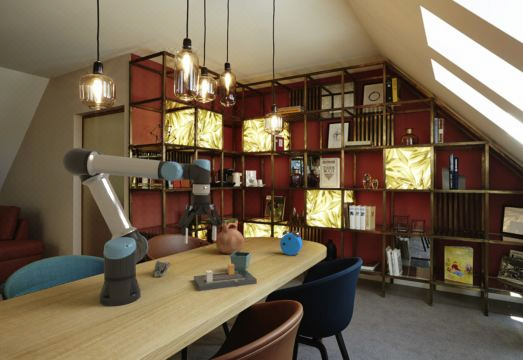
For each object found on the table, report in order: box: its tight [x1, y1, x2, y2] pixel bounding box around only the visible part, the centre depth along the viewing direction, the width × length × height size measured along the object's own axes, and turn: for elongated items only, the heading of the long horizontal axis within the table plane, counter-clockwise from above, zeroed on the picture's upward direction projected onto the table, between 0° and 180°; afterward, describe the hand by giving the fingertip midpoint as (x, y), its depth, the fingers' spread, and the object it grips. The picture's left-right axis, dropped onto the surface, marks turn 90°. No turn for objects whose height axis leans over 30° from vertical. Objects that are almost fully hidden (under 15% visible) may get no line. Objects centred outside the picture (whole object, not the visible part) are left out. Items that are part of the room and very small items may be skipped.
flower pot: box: [229, 251, 252, 271], centre depth 165 cm, size 9×9×9 cm
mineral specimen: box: [151, 260, 172, 278], centre depth 160 cm, size 10×8×10 cm
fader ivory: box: [205, 269, 214, 282], centre depth 142 cm, size 3×3×4 cm
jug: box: [215, 220, 245, 256], centre depth 206 cm, size 18×18×20 cm
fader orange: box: [226, 263, 235, 275], centre depth 153 cm, size 3×3×4 cm
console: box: [193, 269, 258, 292], centre depth 148 cm, size 26×15×3 cm, turn 111°
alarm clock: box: [279, 230, 303, 256], centre depth 200 cm, size 13×6×15 cm, turn 66°
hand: (200, 241), depth 143 cm, fingers open, 13 cm apart
